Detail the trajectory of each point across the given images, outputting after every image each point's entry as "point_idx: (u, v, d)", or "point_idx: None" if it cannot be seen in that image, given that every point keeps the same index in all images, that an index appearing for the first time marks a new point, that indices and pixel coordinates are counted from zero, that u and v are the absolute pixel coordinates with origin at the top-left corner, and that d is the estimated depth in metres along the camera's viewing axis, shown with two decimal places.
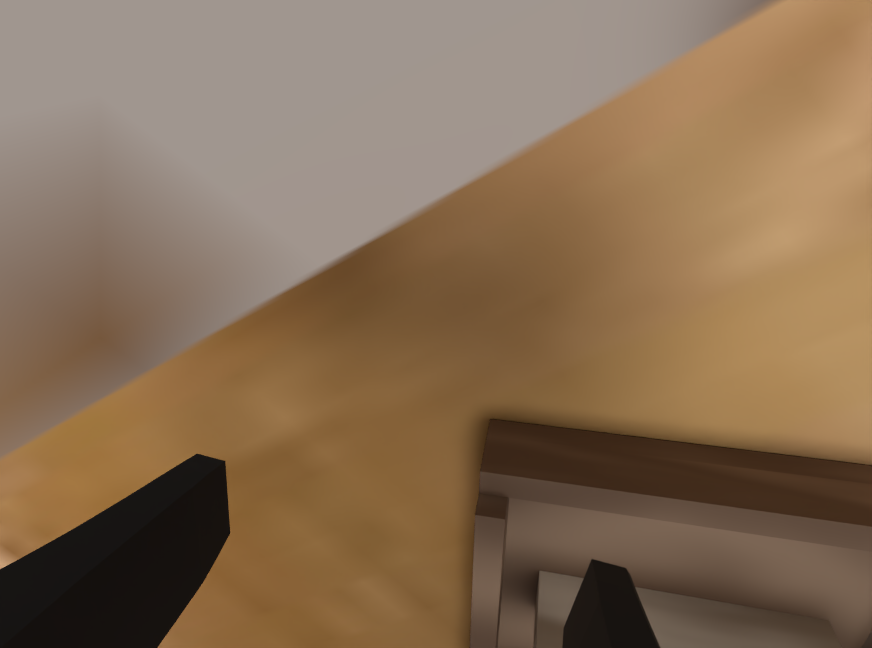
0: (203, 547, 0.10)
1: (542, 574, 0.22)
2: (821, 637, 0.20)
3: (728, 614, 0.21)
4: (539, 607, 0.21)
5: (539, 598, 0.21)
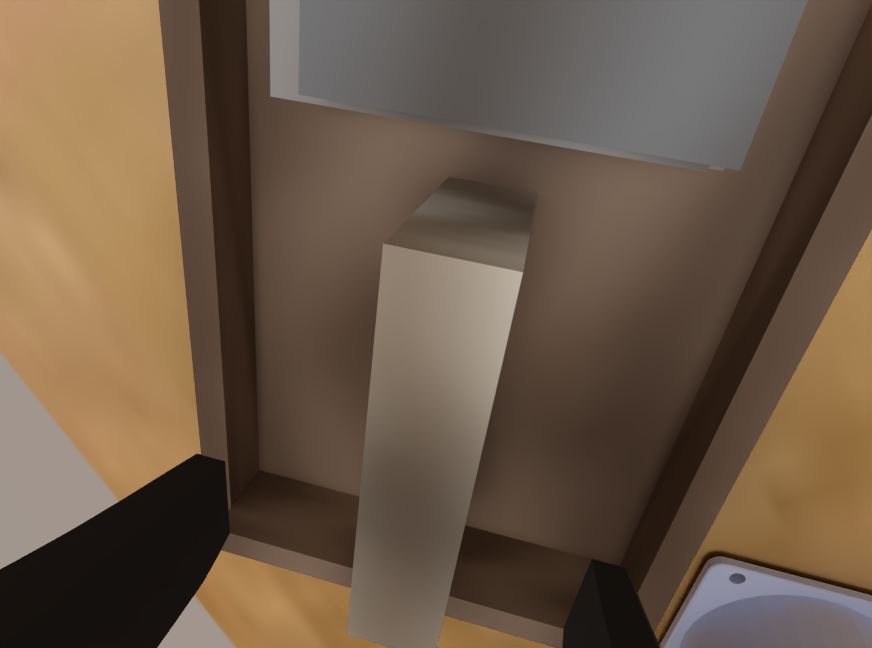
0: (203, 547, 0.10)
1: None
2: None
3: None
4: None
5: None
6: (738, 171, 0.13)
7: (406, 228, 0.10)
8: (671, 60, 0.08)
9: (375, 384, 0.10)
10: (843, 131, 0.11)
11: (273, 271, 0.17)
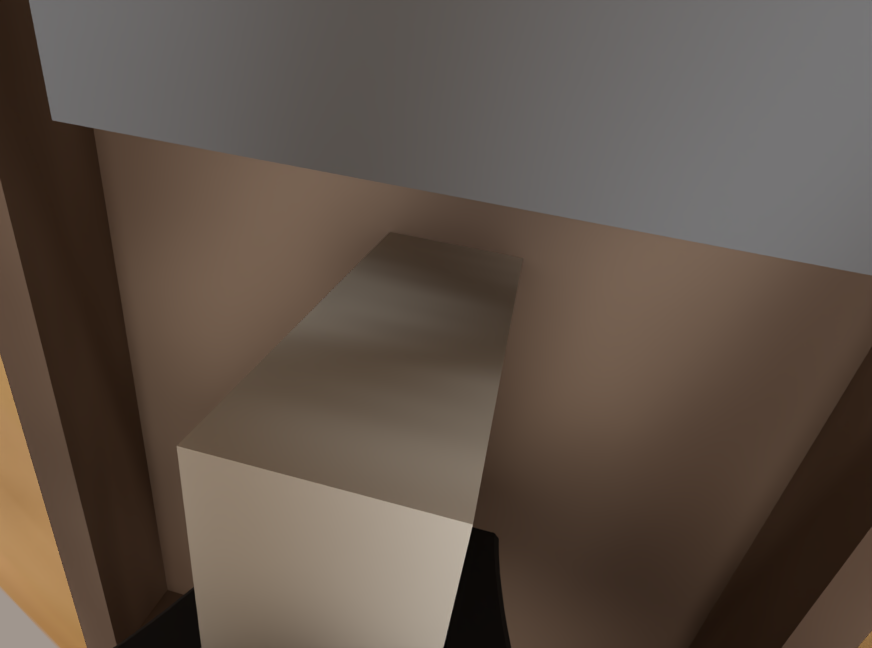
0: None
1: None
2: None
3: None
4: None
5: None
6: None
7: (257, 381, 0.05)
8: (808, 52, 0.04)
9: None
10: None
11: (156, 352, 0.12)
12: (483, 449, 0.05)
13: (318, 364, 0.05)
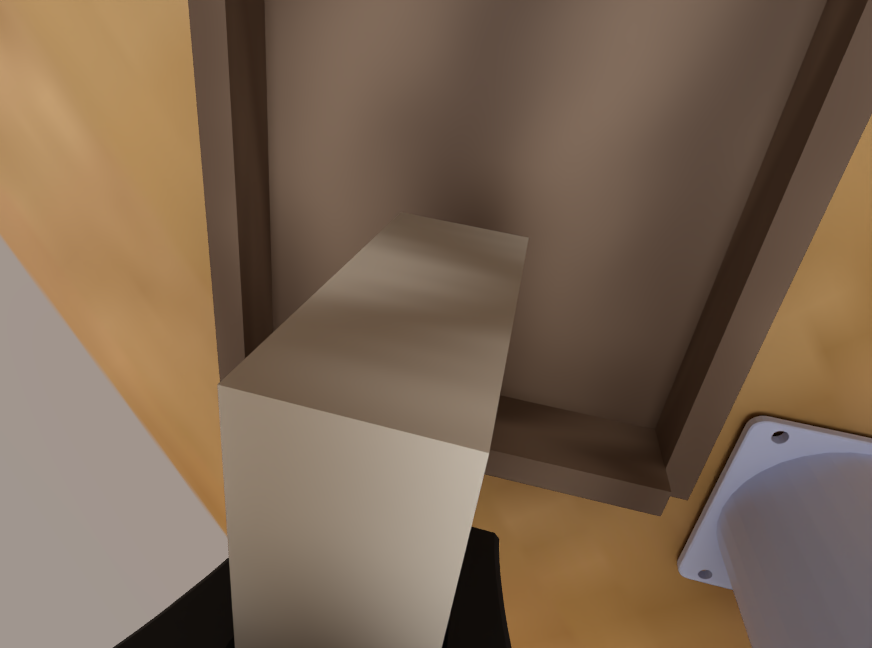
0: None
1: None
2: None
3: None
4: None
5: None
6: None
7: (286, 334, 0.05)
8: None
9: (241, 597, 0.06)
10: None
11: (288, 101, 0.16)
12: (496, 394, 0.05)
13: (341, 322, 0.06)
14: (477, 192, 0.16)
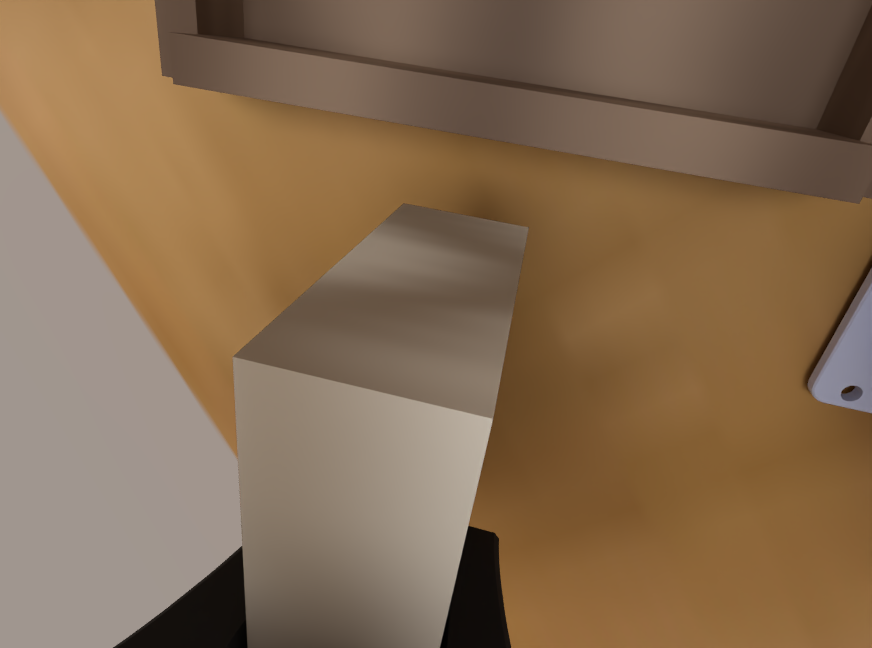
0: None
1: None
2: None
3: None
4: None
5: None
6: None
7: (296, 313, 0.06)
8: None
9: (252, 569, 0.06)
10: None
11: None
12: (499, 367, 0.05)
13: (348, 302, 0.06)
14: None
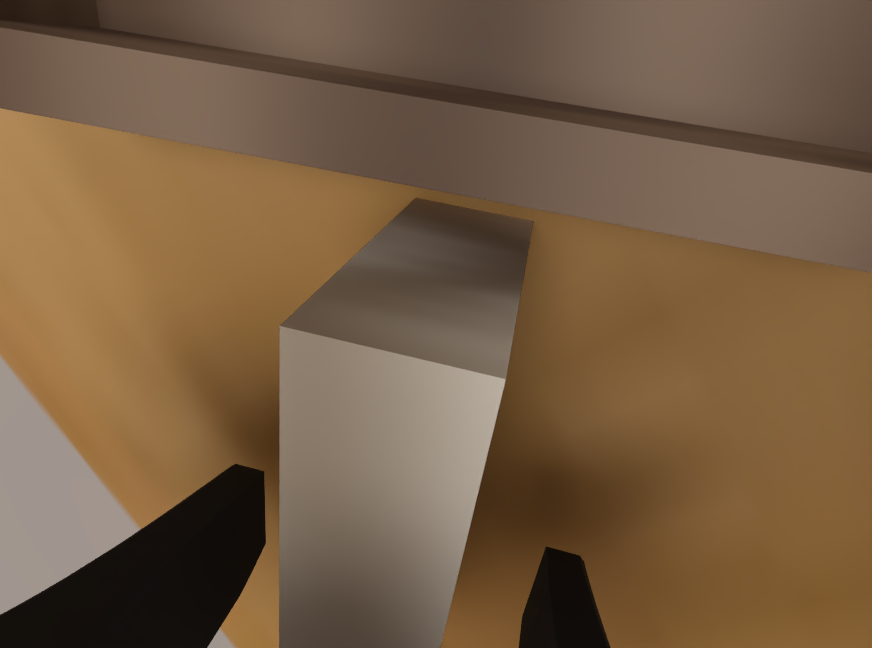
0: (242, 558, 0.10)
1: None
2: None
3: None
4: None
5: None
6: None
7: (329, 291, 0.06)
8: None
9: (287, 520, 0.07)
10: None
11: None
12: (510, 338, 0.06)
13: (374, 283, 0.07)
14: None
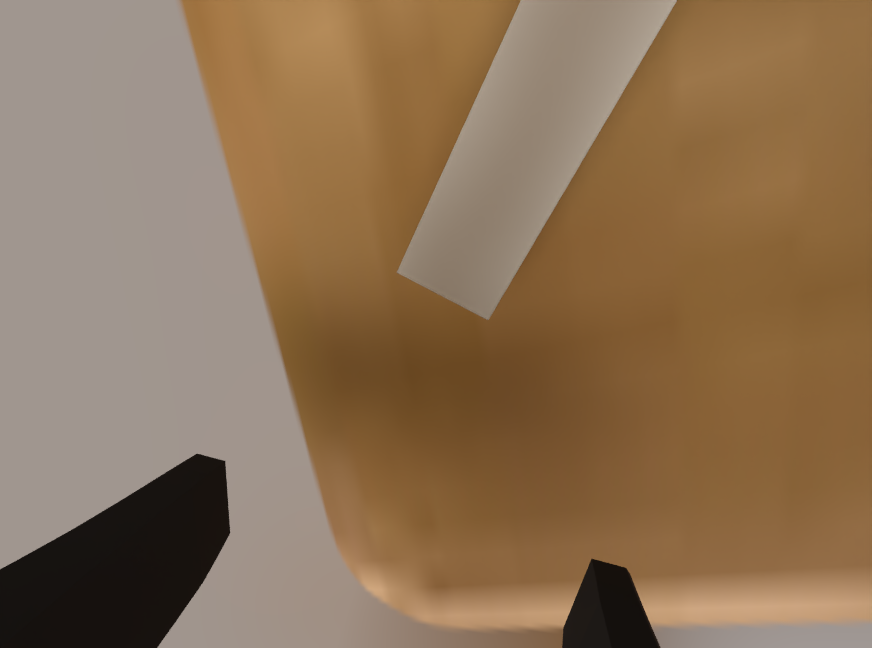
0: (203, 547, 0.10)
1: None
2: None
3: None
4: None
5: None
6: None
7: None
8: None
9: None
10: None
11: None
12: None
13: None
14: None
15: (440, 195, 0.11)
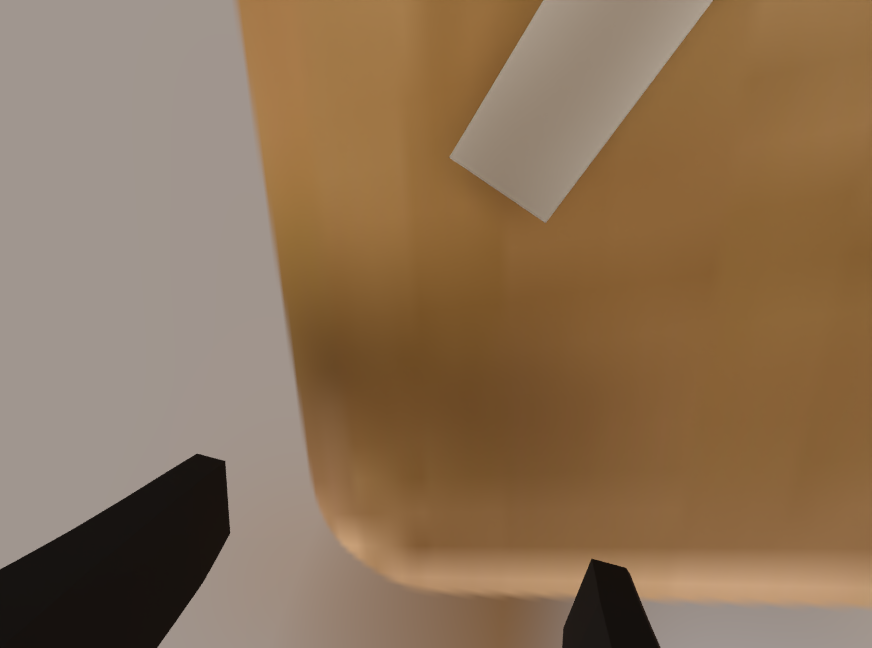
0: (203, 547, 0.10)
1: None
2: None
3: None
4: None
5: None
6: None
7: None
8: None
9: None
10: None
11: None
12: None
13: None
14: None
15: (515, 64, 0.10)
